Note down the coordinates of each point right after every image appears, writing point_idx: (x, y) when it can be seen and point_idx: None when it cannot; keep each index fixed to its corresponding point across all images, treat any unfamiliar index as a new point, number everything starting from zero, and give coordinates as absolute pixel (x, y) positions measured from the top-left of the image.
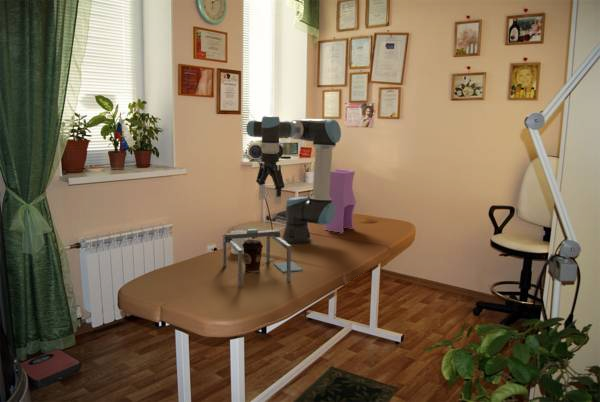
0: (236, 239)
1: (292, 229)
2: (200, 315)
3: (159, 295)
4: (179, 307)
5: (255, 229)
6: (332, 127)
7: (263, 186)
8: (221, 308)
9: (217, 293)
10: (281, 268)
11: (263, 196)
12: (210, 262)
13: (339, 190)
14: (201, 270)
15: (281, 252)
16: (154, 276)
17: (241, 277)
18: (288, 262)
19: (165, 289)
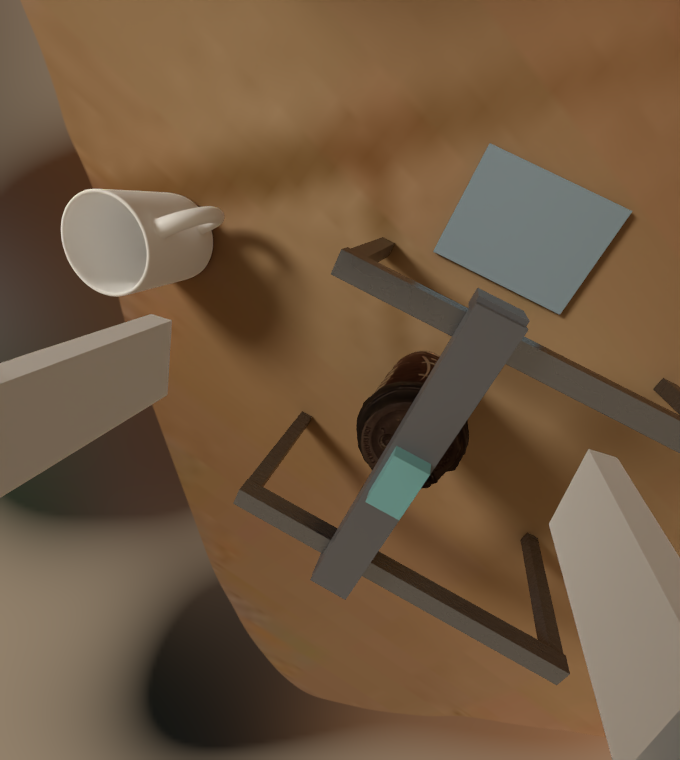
0: (155, 286)
1: None
2: (601, 731)
3: (393, 681)
4: (507, 715)
5: (410, 476)
6: None
7: (3, 423)
8: None
9: (510, 611)
10: (523, 286)
11: (145, 356)
12: (230, 417)
13: None
14: (288, 494)
15: (300, 43)
16: (251, 598)
17: (542, 567)
18: None
19: (365, 649)
